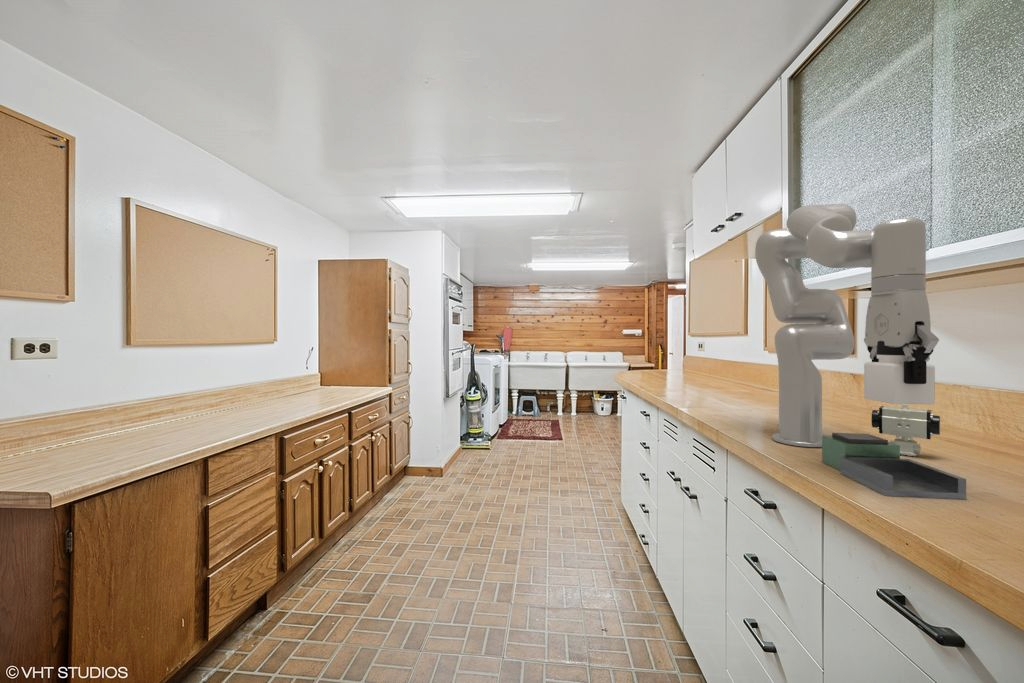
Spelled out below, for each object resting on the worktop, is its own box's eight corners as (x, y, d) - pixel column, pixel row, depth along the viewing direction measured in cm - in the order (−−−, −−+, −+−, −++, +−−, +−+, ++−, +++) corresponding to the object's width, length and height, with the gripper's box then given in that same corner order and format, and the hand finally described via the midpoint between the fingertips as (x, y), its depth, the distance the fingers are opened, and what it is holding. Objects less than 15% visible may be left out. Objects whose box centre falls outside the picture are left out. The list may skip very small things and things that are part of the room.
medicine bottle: (935, 404, 75) (936, 337, 75) (893, 404, 75) (893, 337, 75) (901, 399, 82) (901, 337, 82) (863, 398, 83) (863, 337, 83)
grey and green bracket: (816, 461, 94) (816, 431, 94) (877, 464, 92) (877, 433, 92) (885, 495, 73) (885, 456, 73) (966, 499, 72) (966, 459, 72)
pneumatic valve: (874, 448, 106) (874, 400, 106) (940, 457, 98) (940, 405, 98) (870, 452, 102) (870, 402, 102) (939, 462, 94) (939, 408, 94)
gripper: (845, 292, 88) (845, 377, 88) (912, 281, 71) (912, 386, 71) (885, 292, 87) (885, 377, 87) (963, 280, 70) (963, 387, 70)
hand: (897, 380), depth 79 cm, fingers closed on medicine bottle, 7 cm apart
